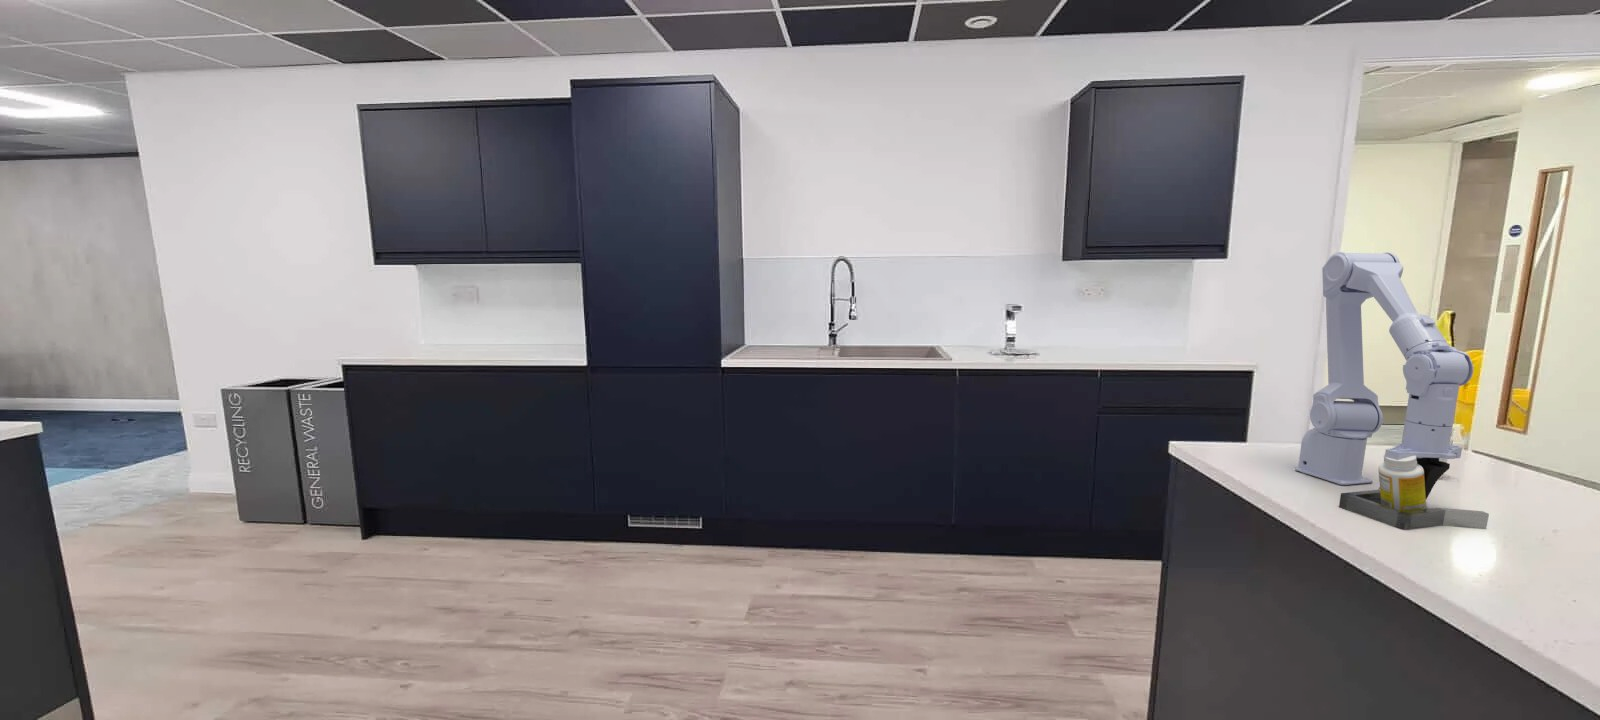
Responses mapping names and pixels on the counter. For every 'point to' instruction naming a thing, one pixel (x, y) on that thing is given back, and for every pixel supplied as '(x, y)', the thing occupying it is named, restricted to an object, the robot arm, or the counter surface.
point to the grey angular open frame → (1409, 513)
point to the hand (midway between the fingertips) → (1415, 500)
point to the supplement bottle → (1402, 484)
